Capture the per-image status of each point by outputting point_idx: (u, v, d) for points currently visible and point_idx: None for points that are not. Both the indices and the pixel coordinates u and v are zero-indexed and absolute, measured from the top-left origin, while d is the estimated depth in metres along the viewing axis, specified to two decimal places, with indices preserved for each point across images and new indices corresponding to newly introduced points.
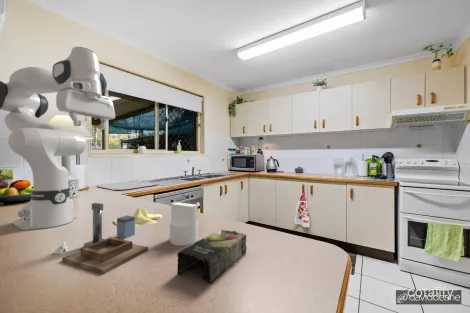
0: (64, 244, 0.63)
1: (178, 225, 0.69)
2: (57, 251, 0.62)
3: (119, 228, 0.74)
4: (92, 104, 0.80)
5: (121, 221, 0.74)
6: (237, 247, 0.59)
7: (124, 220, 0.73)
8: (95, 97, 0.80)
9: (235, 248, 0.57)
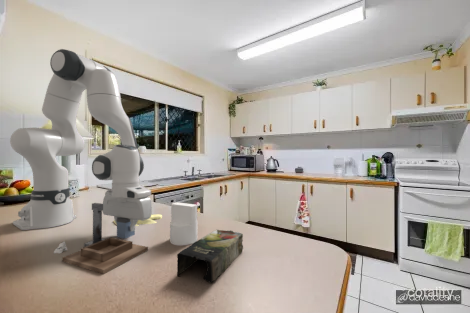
0: (64, 244, 0.63)
1: (178, 225, 0.69)
2: (57, 251, 0.62)
3: (119, 228, 0.74)
4: None
5: (121, 221, 0.74)
6: (234, 246, 0.59)
7: (124, 220, 0.73)
8: None
9: (233, 248, 0.58)
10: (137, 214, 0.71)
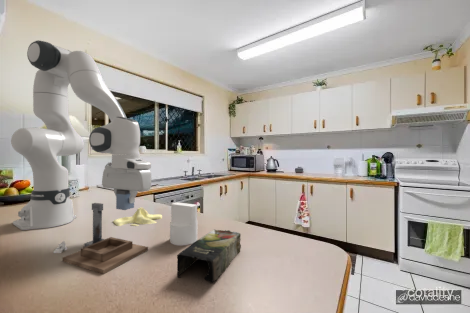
0: (63, 243, 0.64)
1: (178, 225, 0.69)
2: (56, 250, 0.62)
3: (118, 200, 0.74)
4: None
5: (120, 193, 0.74)
6: (233, 245, 0.59)
7: (124, 192, 0.73)
8: None
9: (232, 247, 0.58)
10: (137, 185, 0.71)
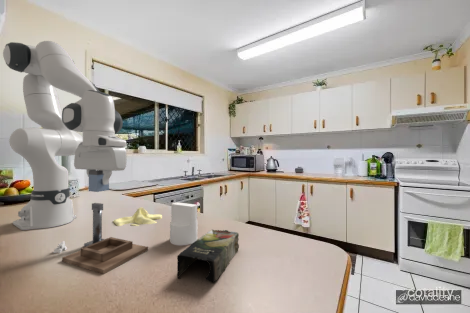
0: (63, 243, 0.64)
1: (178, 225, 0.69)
2: (56, 250, 0.62)
3: (91, 181, 0.68)
4: None
5: (93, 173, 0.67)
6: (232, 245, 0.60)
7: (96, 172, 0.67)
8: None
9: (231, 247, 0.58)
10: (110, 163, 0.65)
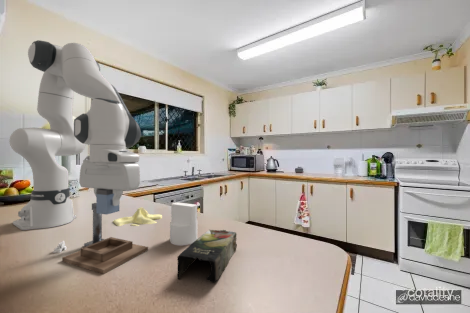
0: (63, 243, 0.64)
1: (178, 225, 0.69)
2: (56, 250, 0.63)
3: (99, 202, 0.59)
4: None
5: (101, 193, 0.59)
6: (231, 245, 0.60)
7: (105, 191, 0.58)
8: None
9: (230, 247, 0.59)
10: (121, 182, 0.56)
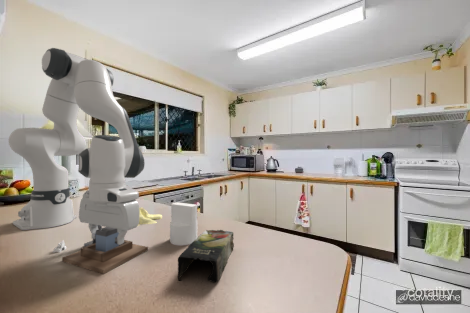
0: (63, 243, 0.64)
1: (178, 225, 0.69)
2: (56, 250, 0.63)
3: (98, 243, 0.59)
4: None
5: (101, 234, 0.59)
6: (229, 244, 0.60)
7: (104, 233, 0.58)
8: None
9: (228, 246, 0.59)
10: (121, 222, 0.56)
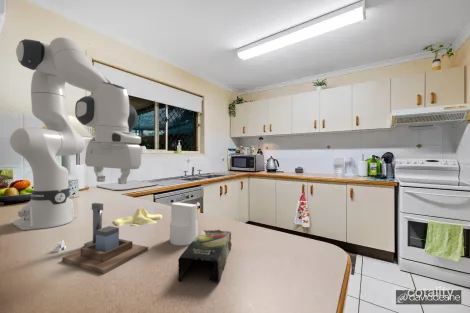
0: (62, 242, 0.64)
1: (178, 225, 0.69)
2: (56, 249, 0.63)
3: (98, 243, 0.59)
4: None
5: (101, 234, 0.59)
6: (227, 244, 0.60)
7: (104, 233, 0.58)
8: None
9: None
10: (124, 161, 0.60)
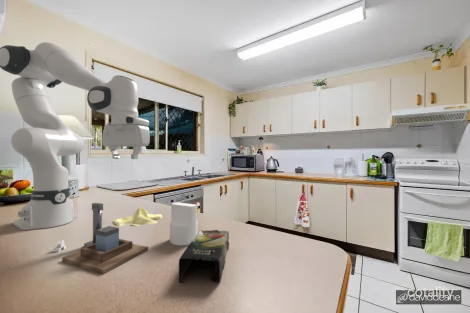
0: (62, 242, 0.64)
1: (178, 225, 0.69)
2: (55, 249, 0.63)
3: (98, 243, 0.59)
4: None
5: (101, 234, 0.59)
6: None
7: (104, 233, 0.58)
8: None
9: (225, 246, 0.59)
10: (136, 139, 0.74)
